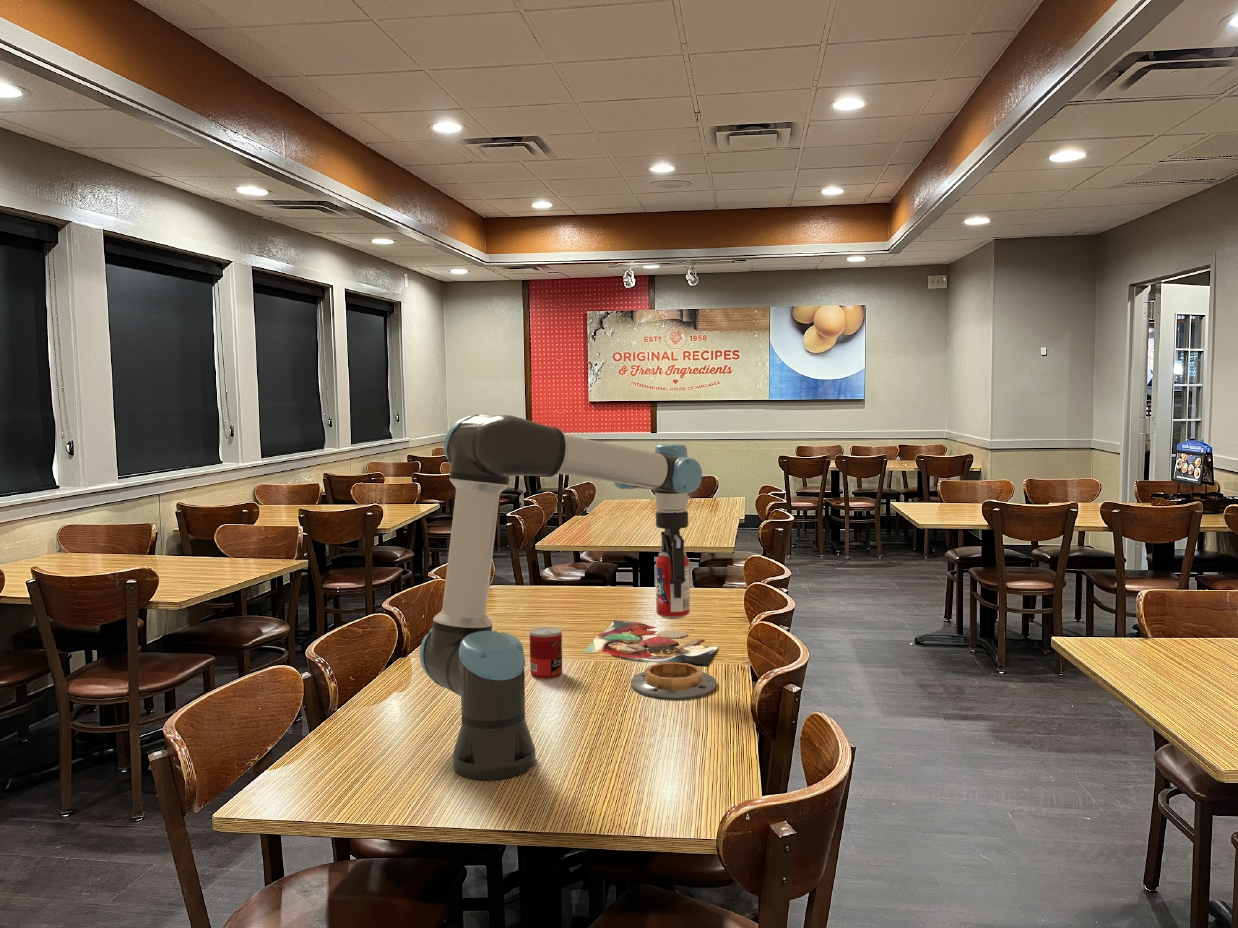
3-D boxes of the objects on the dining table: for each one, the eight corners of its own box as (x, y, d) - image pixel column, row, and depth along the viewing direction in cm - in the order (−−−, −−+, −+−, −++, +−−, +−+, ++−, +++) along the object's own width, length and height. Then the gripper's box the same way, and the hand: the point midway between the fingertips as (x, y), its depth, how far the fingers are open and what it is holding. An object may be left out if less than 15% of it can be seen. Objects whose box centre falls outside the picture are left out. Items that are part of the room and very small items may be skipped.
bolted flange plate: (726, 696, 194) (726, 681, 194) (638, 701, 191) (638, 686, 191) (704, 670, 214) (704, 656, 214) (624, 674, 211) (624, 660, 211)
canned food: (557, 679, 208) (557, 635, 207) (526, 678, 209) (525, 633, 208) (566, 670, 215) (565, 627, 214) (535, 668, 217) (534, 625, 216)
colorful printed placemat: (577, 659, 227) (577, 652, 226) (614, 626, 260) (614, 620, 260) (707, 668, 217) (707, 661, 217) (728, 633, 251) (728, 627, 250)
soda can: (687, 620, 197) (687, 556, 196) (653, 619, 199) (653, 555, 198) (691, 612, 205) (691, 550, 204) (659, 611, 206) (658, 549, 205)
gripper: (698, 515, 190) (699, 616, 192) (678, 505, 211) (678, 596, 212) (665, 516, 189) (666, 618, 191) (648, 506, 210) (649, 598, 211)
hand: (672, 606), depth 201 cm, fingers closed on soda can, 8 cm apart
